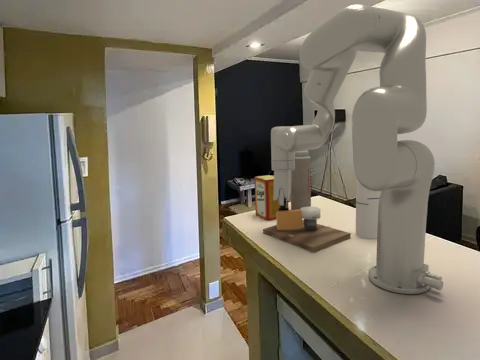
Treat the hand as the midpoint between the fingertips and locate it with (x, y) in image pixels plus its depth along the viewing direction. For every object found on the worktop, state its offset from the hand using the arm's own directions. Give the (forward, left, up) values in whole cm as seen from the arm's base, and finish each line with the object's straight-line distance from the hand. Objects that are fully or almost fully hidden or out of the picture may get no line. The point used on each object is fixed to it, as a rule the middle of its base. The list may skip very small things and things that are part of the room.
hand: (283, 219), depth 107 cm
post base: (-7, -2, -4) cm, 9 cm away
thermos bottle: (+13, -22, -5) cm, 26 cm away
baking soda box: (+17, -8, -5) cm, 19 cm away
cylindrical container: (-20, -17, -5) cm, 27 cm away
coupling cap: (-5, -2, -2) cm, 6 cm away
